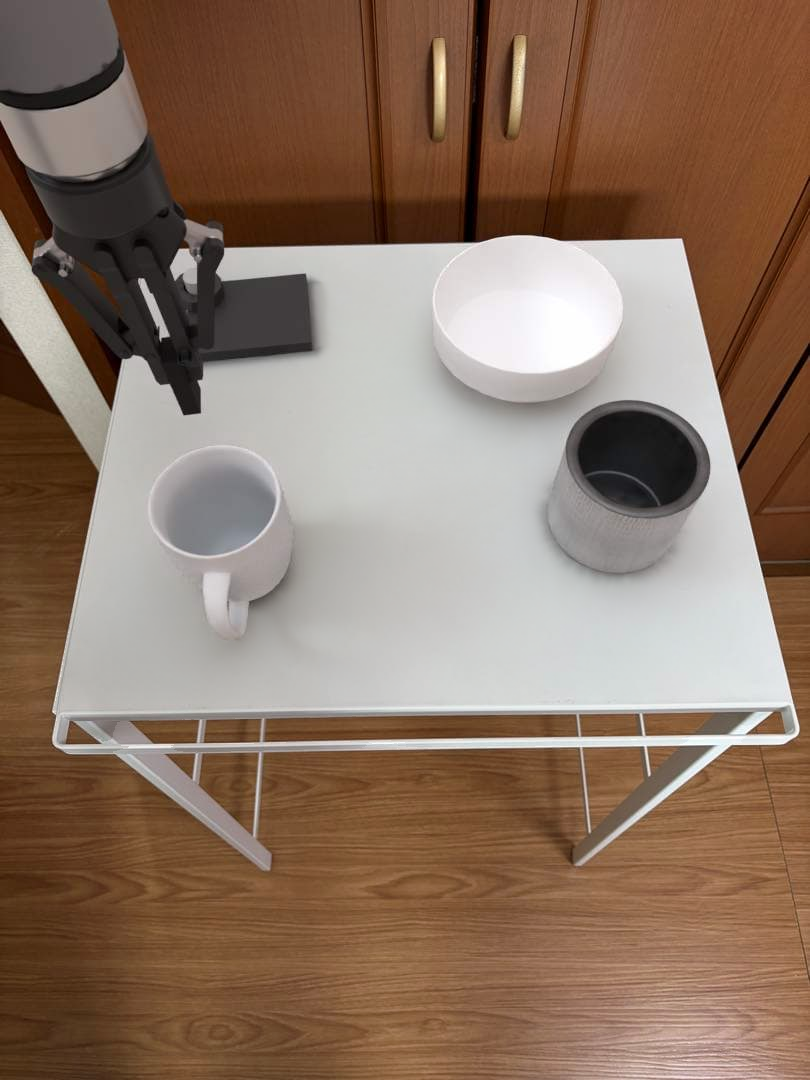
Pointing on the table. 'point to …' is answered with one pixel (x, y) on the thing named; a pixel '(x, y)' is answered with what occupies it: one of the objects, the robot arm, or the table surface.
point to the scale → (256, 316)
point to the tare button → (191, 280)
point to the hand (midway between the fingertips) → (192, 402)
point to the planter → (626, 485)
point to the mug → (223, 529)
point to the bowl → (525, 317)
